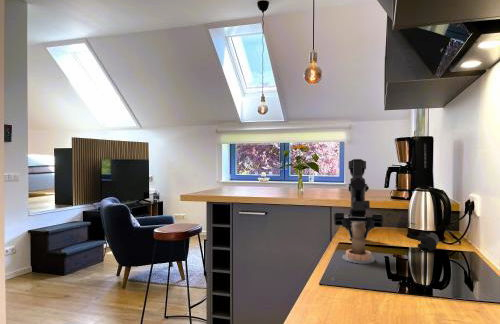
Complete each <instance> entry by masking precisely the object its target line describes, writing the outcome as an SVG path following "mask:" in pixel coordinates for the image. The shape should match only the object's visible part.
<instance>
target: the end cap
mask: <svg viewBox="0 0 500 324" xmlns="http://www.w3.org/2000/svg"><path fill="white" fill-rule="evenodd" d="M417 241H418V242H420V243H417V251H418V250H422V251H421V252H423V251H429V252H428V253H431V252H432V251H434V250H435V249H436V248H437V246H438V244H439V242H440V238H439V236H438V234H436V233H434V232H430V233H424V232H420V234H419V235H418V236H417Z"/></svg>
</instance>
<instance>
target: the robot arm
mask: <svg viewBox="0 0 500 324" xmlns="http://www.w3.org/2000/svg"><path fill="white" fill-rule="evenodd" d="M348 170H349V174H350V175H351V178H350V179H349V180H350V182H349V183H348V192H350V210H349V214H345V212H337V211H336V212H334V214H333V220H334V225H335V226H342V227H343V228H345V229H346V231H347V232H348V233H347V234H348V235H349V237H350V238H349V240H350V241H352V222H363V223H365V240H367V237H368V235H369V233H370V231H371V230H372V229H374V228H382V227H383V226H384V215H383V214H382V213H372V214H371V216H367V214H366V213H367V210H370V207H371V206H370V205H371V203H370V200H366V193H367V192H368V190H370V189H369V188H370V187H369V186H368V183H366V179H365V178H364V177H363V176H364V174H365V171H366V170H367V161H366V160H363V159H362V158H353V159H352V160H348Z"/></svg>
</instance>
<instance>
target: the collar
mask: <svg viewBox="0 0 500 324" xmlns="http://www.w3.org/2000/svg"><path fill="white" fill-rule="evenodd" d="M343 259H344V260H343ZM342 260H343V261H345V262H347V261H348V262H347V263H350V262H353V263H352V264H356V263H358V264H357V265H368V264H373V263H374V262H375V257H374V256H373V255H372V252H371V251H370V250H366V249H365V254H364V255H358V254H352V248H349V249H346V250H345V254H343V255H342Z"/></svg>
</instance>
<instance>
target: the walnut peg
mask: <svg viewBox="0 0 500 324" xmlns="http://www.w3.org/2000/svg"><path fill="white" fill-rule="evenodd" d="M365 230H366V228H365V223H363V222H352V240H351V249H352V254H358V255H364V254H365V250H366V239H365Z"/></svg>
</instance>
